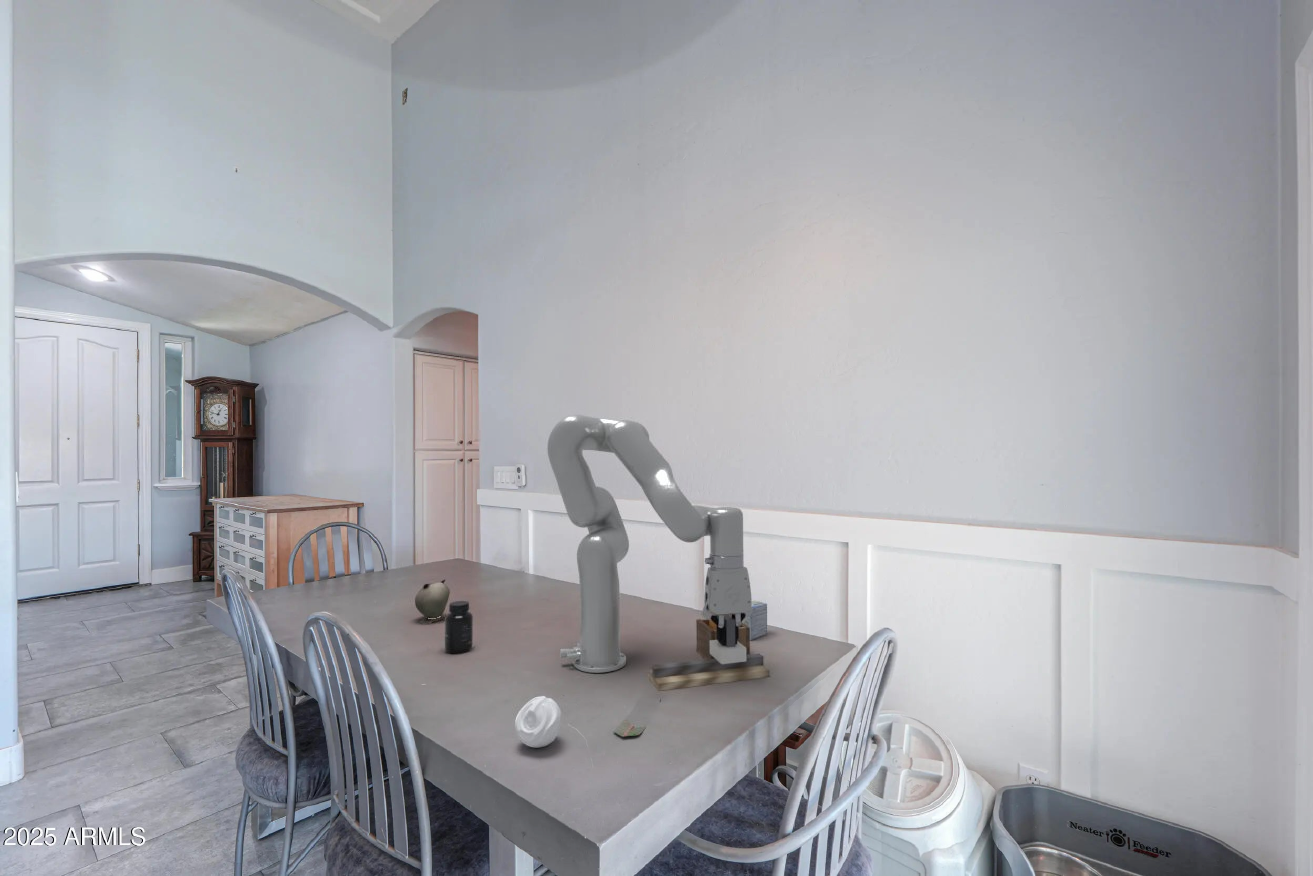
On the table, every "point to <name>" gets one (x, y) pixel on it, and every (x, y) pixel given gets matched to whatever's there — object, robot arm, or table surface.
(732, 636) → the carriage
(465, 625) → the supplement bottle
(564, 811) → the table surface
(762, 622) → the medicine box
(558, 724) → the white carved ovoid
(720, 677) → the rail base
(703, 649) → the brown wooden box
